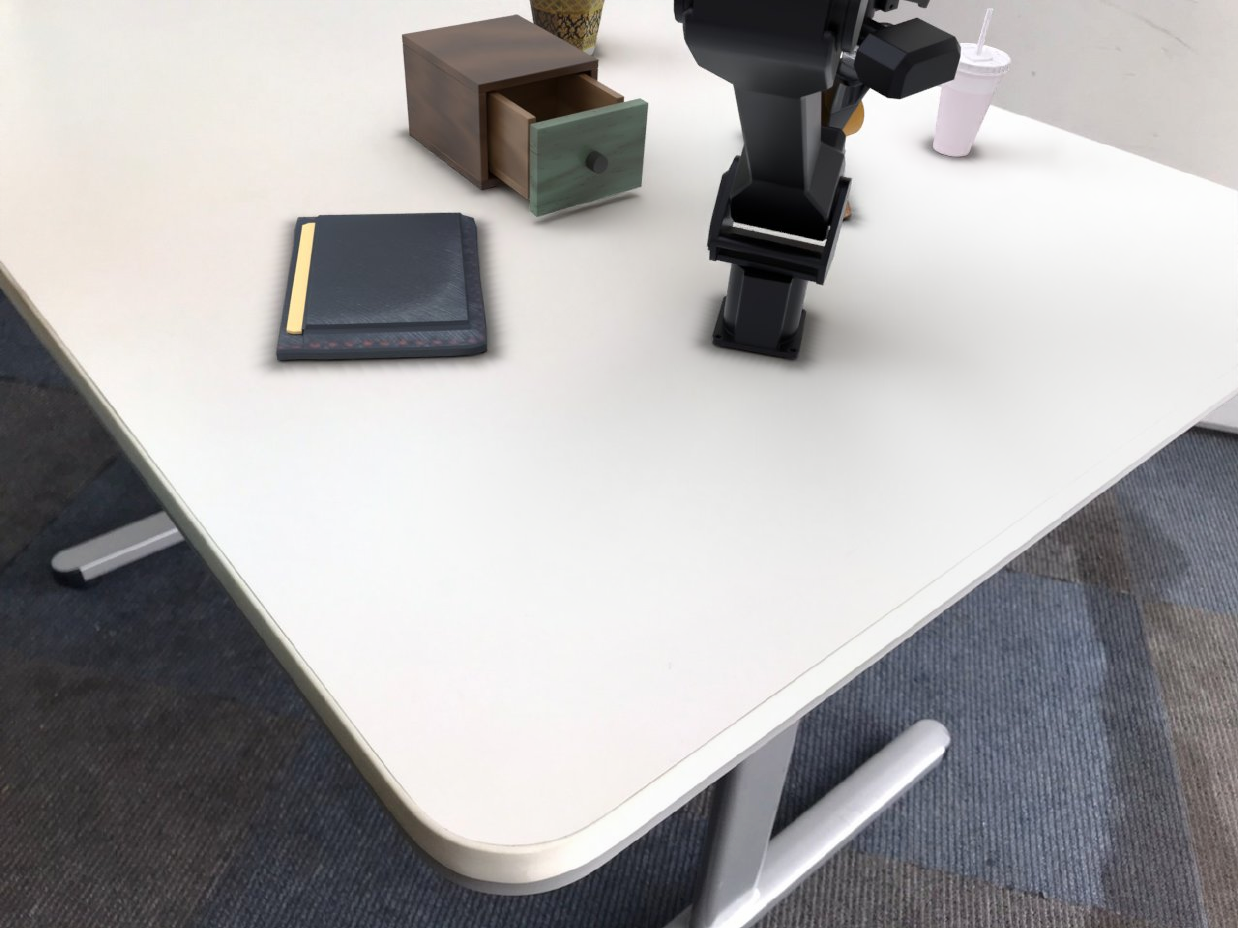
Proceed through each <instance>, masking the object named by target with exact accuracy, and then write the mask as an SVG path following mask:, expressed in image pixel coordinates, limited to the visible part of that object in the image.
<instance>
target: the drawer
mask: <svg viewBox="0 0 1238 928" xmlns="http://www.w3.org/2000/svg"><path fill="white" fill-rule="evenodd" d="M486 109H487V148H488V170H489V171H490V172H491V173H493V174H494V175H495V176H497V177H498V178H499V179H501V180H502V181H503V182H505V184H506V185H507V186H509V187H510V188H511V189H512V190H514V191H516V192H517V193H518V194H519V195H521V196H522V197H523V198H524V199H526V200H529V212H530V213H531V214H532V215H534V216H535V217H537V218H539V217H542V216H545V215H549V214H553V213H556V212H559V211H562V210H566V209H570V208H573V207H576V206H580V205H584V204H587V203H590V202H593V201H598V200H600V199H604V198H607V197H610V196H614V195H619V194H621V193H625V192H627V191H632V190H634V189H635V190H636V189H639V188H642V186H643V177H644V176H643V175H644V164H645V163H644V162H645V151H646V150H645V149H646V137H647V126H648V125H647V124H648V115H649V114H648V113H649V102H648V101H646V100H645V99H643V98H635V99H631V100H627V101H625V96H624V95H622V94H621V93H619V92H617V91H616V90H614V89H613V88H610V87H609V86H607V85H605V84H604V83H602V82H600V81H599V80H598V81H597V80H595V79H593V78H592V77H590V76H588V75H586V74H585V73H583V72H578V73H573V74H569V75H564V76H559V77H555V78H550V79H545V80H540V81H536V82H531V83H526V84H522V85H517V86H512V87H508V88H503V89H498V90H493V91H489V92H486Z"/></svg>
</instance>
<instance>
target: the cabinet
mask: <svg viewBox="0 0 1238 928" xmlns="http://www.w3.org/2000/svg"><path fill="white" fill-rule="evenodd" d="M401 42H402V54H403V55H402V56H403V67H404V80H405V81H404V83H405V93H406V94H405V96H406V106H407V118H408V119H407V120H408V131H409V132H408V133H409V136H411V137H412V138H413V139H414V140H416V141H417V142H419V143H420V144H421V145H423V146H424V147H425V148H426V149H428V150H429V151H430V152H431V153H433V154H434V155H435V156H437V157H438V158H439V159H441V161H443V162H445V163H446V164H447V165H449V166H450V167H451V168H452V169H454V170H455V171H456V172H457V173H459V174H460V175H462V177H464V178H465V179H467V180H468V181H469V182H470V183H472V184H473V185H475V186H476V187H477V188H478V189H479V190H481V191H482V190H486V189H491V188H494V187H497V186H502V185H505V184H506V183H505V182H503V181H502V180H501V179H499V178H498V177H497V176H495V175H494V174H493V173H491V172H490V171H489V170H488V148H487V109H486V92H489V91H493V90H498V89H503V88H508V87H512V86H517V85H522V84H526V83H531V82H536V81H540V80H545V79H550V78H555V77H559V76H564V75H569V74H573V73H578V72H583V73H585V74H586V75H588V76H590V77H592V78H593V79H595V80H597V81H598V82H599V79H598V78H599V59H598V58H596V57H594V56H593V55H589V54H587V53H585V52H584V51H582V50H580V49H578V48H576V47H575V46H573V45H571V44H569V43H568V42H566V41H564V40H562V39H560V38H559V37H557V36H555V35H553V34H551V33H550V32H548V31H546V30H544V29H542V28H541V27H539V26H537V25H535V24H534V23H533V21H530V20H528V19H526V18H524V17H523V16H521V15H519V14H510V15H505V16H501V17H494V18H488V19H483V20H477V21H471V22H466V23H460V24H454V25H453V24H452V25H449V26H441V27H437V28H430V29H425V30H420V31H419V30H418V31H414V32H409V33H408V32H407V33H403V34H401Z"/></svg>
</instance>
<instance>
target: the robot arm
mask: <svg viewBox="0 0 1238 928" xmlns="http://www.w3.org/2000/svg"><path fill="white" fill-rule="evenodd" d="M904 1H906V2H910V3H912V4H913V3H914V4H917V7H918V8H921V9H926V8H928V5H930V2H931V0H904ZM899 3H900V0H673V15H674V19H675V22H677V23H679V24H682V33H683V40H684V42H685V45H686V47H687V48H688V51H689V52H690V54H691V55H692V57H693V59H694V61H695V62H696V65H697V66H698V67H700V68H702V69H704V70H705V71H707V72H709V73H711V74H713V75H715V76H717V77H718V78H720V79H722V80H724V81H726V82H727V83H729V84H731V85H733V91H734V97H735V101H736V107H737V112H738V118H739V125H740V130H741V134H742V139H743V146H742V150H741V152H740V154H739V155H738V154H736V155H734V158H733V160H732V162H731V164H730V165H729V168H728V170H726V171H725V172H723V173H722V175H721V177H720V178H721V179H720V182H719V186H718V189H717V194H716V198H715V202H714V206H713V209H712V210H713V211H712V213H711V217H710V222H709V227H708V234H707V241H706V247H707V251H708V252H709V254H708V260H709V261H712V262H717V261H718V262H722V263H726V264H731V265H730V271H729V276H728V284H727V291H726V295H725V296H724V297H723V299H722V302H721V305H720V309H719V312H718V315H717V318H716V322H715V326H714V329H713V332H712V336H711V342H712V344H714V345H715V346H721V347H725V348H732V349H735V350H742V351H748V352H754V353H757V354H758V353H759V354H764V355H769V356H770V355H771V356H774V357H775V356H776V357H781V358H787V359H793V360H794V359H797V358H799V355H800V351H801V344H802V338H803V334H804V333H803V332H804V326H805V323H806V322H805V321H806V317H807V316H806V315H807V310H806V309H805V308H803V307H804V301H805V298H806V293H807V288H808V284H809V283H808V282H810V283H811V282H812V283H815V284H816V285H819V286H825V285H824V284H825V281H826V280H827V276H828V273H829V271H830V268H831V265H832V263H833V260H834V257H835V253H836V249H837V245H838V242H839V238H840V233H841V230H842V225H843V221H844V219H845V218H844V214H845V210H846V206H847V202H849V197H850V193H851V187H852V183H853V178H852V177H848V176H845V173H846V166H847V163H846V152H847V150H846V141H847V137H846V135H845V133H844V132H843V129H844V127H845V126H846V124H847V122H848V121H849V119H850V118H851V116H852V114H853V113H854V111H855V110H856V108H857V106H858V105H859V103H860V102H861V100H863V98H864V97H865V96H866V94H867V93H868V92H869V91H870V89H871V90H872V91H874V92H876V93H877V94H880V95H881V96H883V97H885V98H887V99H893V100H902V99H905V98H909V97H911V96H913V95H916V94H919V93H921V92H925V91H926V90H931V89H933V88H936V87H939V86H940V85H941V86H942V84H944V83H946V82H949V81H952V80H954V78H955V75H956V71H957V68H958V64H959V60H960V57H961V46H960V44H959V43H960V42H959V41H958V39H957V37H956V36H955V35H953V34H951V33H949V32H947V31H945V30H943V29H941V28H939V27H937V26H935V25H933V24H931V23H929V22H927V21H926V20H923V19H921V18H920V17H914V18H912V19H911V18H910V19H907V20H906V21H902V22H899V23H896V24H893V23H892V22H886V21H884V22H883V21H882V22H879V21H876V20H875V19H874V17H875V14H876V12H878V11H882V12H883V13H888V12H891V11H894V10H898V8H899V5H900V4H899ZM843 218H844V219H843ZM734 223H736V224H740V225H744V226H749V227H754V228H758V229H763V230H768V231H771V232H777V233H781V234H786V235H791V236H796V237H799V238H805V239H810V240H814V241H819V242H824V241H825V242H824V245H821V244H817V243H813V242H807V241H803V240H798V239H793V238H788V237H784V236H779V235H775V234H770V233H766V232H761V231H758V230H752V229H748V228H742V227H739V226H735V225H734Z"/></svg>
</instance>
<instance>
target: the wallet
mask: <svg viewBox="0 0 1238 928" xmlns="http://www.w3.org/2000/svg"><path fill="white" fill-rule="evenodd" d="M293 230H294V231H293V241H292V242H293V243H292V251H291V257H290V262H289V263H290V264H289V268H288V269H289V270H288V275H287V283H286V287H285V288H286V289H285V294H284V295H285V296H284V301H283V307H282V313H281V314H282V315H281V319H280V320H281V321H280V326H279V332H278V339H277V344H276V350H275V355H276V360H277V361H286V360H287V361H288V360H289V361H290V360H351V359H352V360H353V359H354V360H356V359H360V360H361V359H389V358H390V359H393V358H420V357H421V358H424V357H425V358H426V357H428V358H429V357H452V356H453V357H454V356H472V355H476V354H480V353H482V352H486V351H488V333H487V331H488V328H487V319H486V311H485V310H486V309H485V303H484V295H483V288H482V281H481V272H480V259H479V247H478V227H477V224H476V221H475V218H474V217H472V216H469V215H465V214H464V213H461V212H414V213H413V212H412V213H411V212H410V213H409V212H407V213H406V212H405V213H363V214H362V213H361V214H360V213H359V214H358V213H357V214H355V213H353V214H319V215H318V216H298V217H297V219H296V223H295V227H294V229H293Z"/></svg>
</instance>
